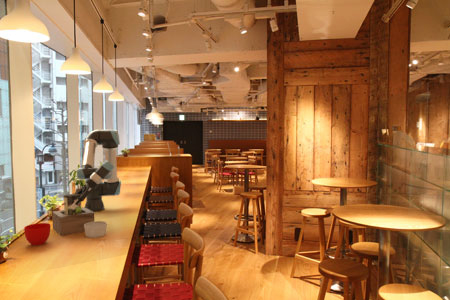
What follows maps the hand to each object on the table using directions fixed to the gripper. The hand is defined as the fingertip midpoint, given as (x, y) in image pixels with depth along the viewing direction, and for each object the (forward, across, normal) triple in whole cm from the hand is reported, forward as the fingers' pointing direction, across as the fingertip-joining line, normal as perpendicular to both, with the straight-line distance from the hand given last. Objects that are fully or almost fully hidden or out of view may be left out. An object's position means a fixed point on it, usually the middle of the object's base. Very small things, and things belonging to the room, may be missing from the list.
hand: (69, 206), depth 223 cm
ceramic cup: (+24, -18, +3) cm, 30 cm away
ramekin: (+3, -21, -18) cm, 28 cm away
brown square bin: (+10, 0, -12) cm, 15 cm away
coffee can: (+4, 0, -6) cm, 7 cm away
